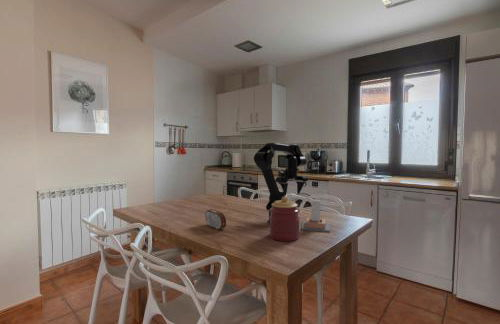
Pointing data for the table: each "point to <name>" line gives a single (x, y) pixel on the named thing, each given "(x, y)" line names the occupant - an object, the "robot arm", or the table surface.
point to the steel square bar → (315, 211)
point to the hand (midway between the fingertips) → (291, 194)
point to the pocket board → (315, 225)
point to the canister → (284, 220)
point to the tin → (215, 219)
